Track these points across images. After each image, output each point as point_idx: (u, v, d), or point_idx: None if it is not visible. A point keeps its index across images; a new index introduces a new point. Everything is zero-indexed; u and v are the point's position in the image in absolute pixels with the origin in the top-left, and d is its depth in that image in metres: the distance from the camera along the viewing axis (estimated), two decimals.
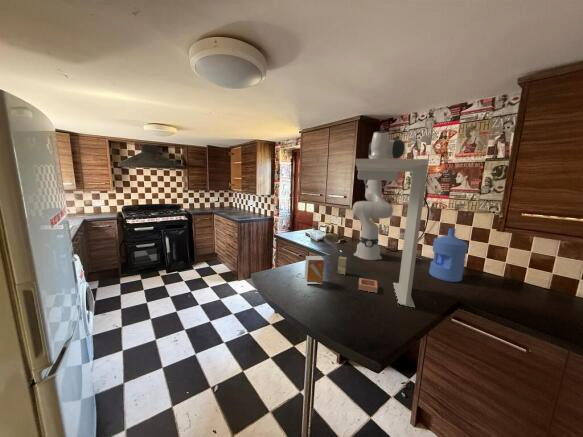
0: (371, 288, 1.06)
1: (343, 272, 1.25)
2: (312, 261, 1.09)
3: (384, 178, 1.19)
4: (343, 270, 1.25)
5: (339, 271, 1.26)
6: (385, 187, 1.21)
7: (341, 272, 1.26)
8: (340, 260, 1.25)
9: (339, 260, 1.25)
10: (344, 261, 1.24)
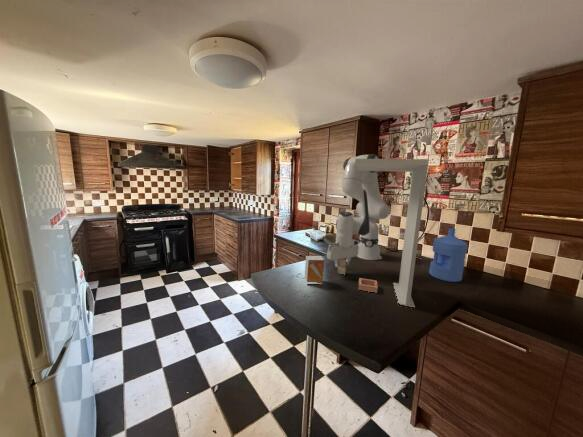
0: (371, 288, 1.06)
1: (343, 272, 1.25)
2: (312, 261, 1.09)
3: None
4: (343, 270, 1.25)
5: (339, 271, 1.26)
6: None
7: (341, 272, 1.26)
8: (340, 260, 1.25)
9: (339, 260, 1.25)
10: (344, 261, 1.24)
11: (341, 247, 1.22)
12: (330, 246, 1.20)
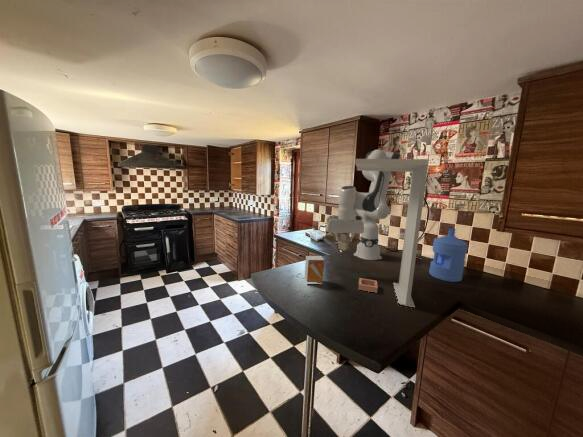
0: (371, 288, 1.06)
1: (343, 247, 1.23)
2: (312, 261, 1.09)
3: None
4: (343, 245, 1.23)
5: (340, 246, 1.25)
6: None
7: (341, 247, 1.24)
8: (341, 235, 1.24)
9: (340, 234, 1.24)
10: (344, 236, 1.22)
11: (340, 221, 1.21)
12: (328, 218, 1.22)
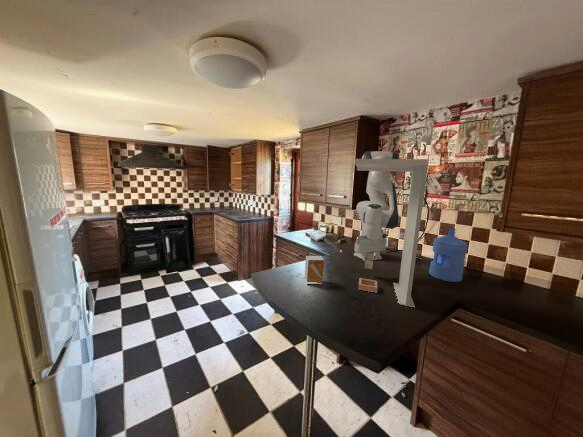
0: (371, 288, 1.06)
1: (371, 266, 1.22)
2: (312, 261, 1.09)
3: None
4: (371, 264, 1.22)
5: (366, 265, 1.23)
6: None
7: (368, 266, 1.22)
8: (368, 254, 1.22)
9: (367, 254, 1.22)
10: (372, 255, 1.21)
11: (369, 240, 1.19)
12: (358, 239, 1.17)
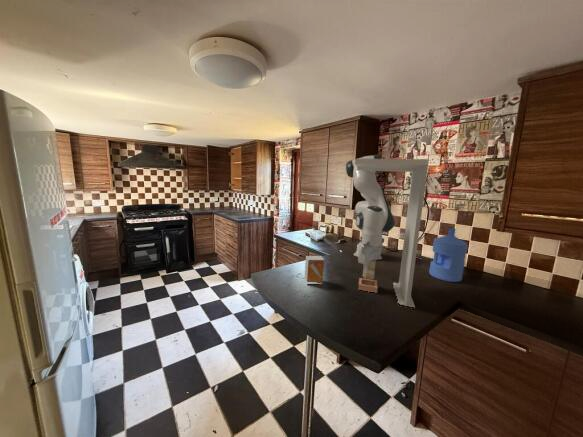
0: (371, 288, 1.06)
1: (372, 276, 1.08)
2: (312, 261, 1.09)
3: None
4: (372, 273, 1.08)
5: (368, 275, 1.08)
6: None
7: (370, 276, 1.08)
8: (369, 262, 1.07)
9: None
10: (373, 263, 1.07)
11: (372, 247, 1.05)
12: (364, 247, 1.01)
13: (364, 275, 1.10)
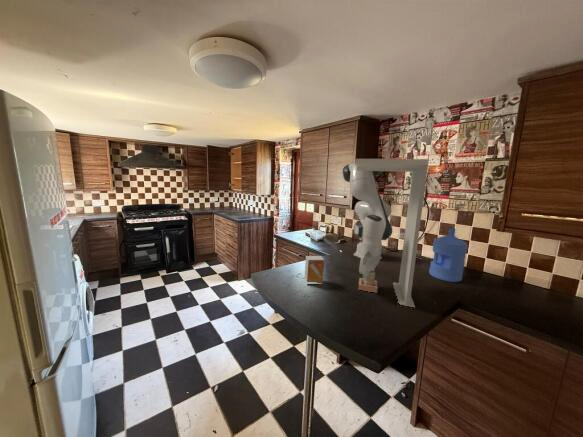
0: (371, 288, 1.06)
1: None
2: (312, 261, 1.09)
3: None
4: (372, 285, 1.08)
5: None
6: None
7: None
8: (369, 274, 1.07)
9: (368, 274, 1.07)
10: (373, 274, 1.07)
11: (372, 257, 1.04)
12: (365, 258, 1.00)
13: None
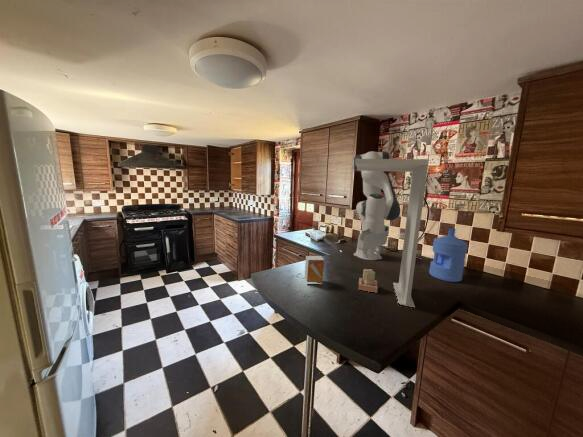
0: (371, 288, 1.06)
1: None
2: (312, 261, 1.09)
3: None
4: (372, 285, 1.08)
5: None
6: None
7: None
8: (369, 274, 1.07)
9: (368, 274, 1.07)
10: (373, 274, 1.07)
11: (373, 234, 1.06)
12: (362, 234, 1.02)
13: None
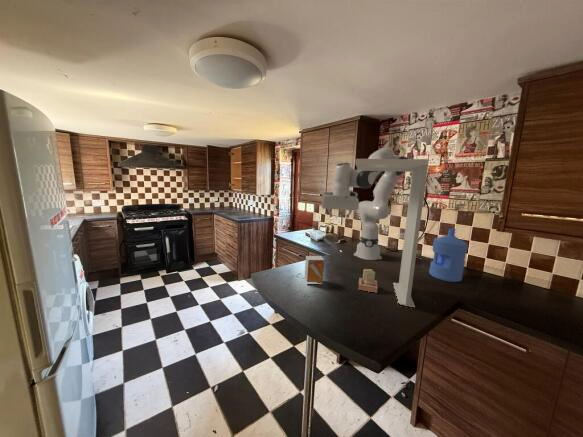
0: (371, 288, 1.06)
1: None
2: (312, 261, 1.09)
3: None
4: (372, 285, 1.08)
5: None
6: None
7: None
8: (369, 274, 1.07)
9: (368, 274, 1.07)
10: (373, 274, 1.07)
11: (335, 197, 1.25)
12: (323, 195, 1.27)
13: None
